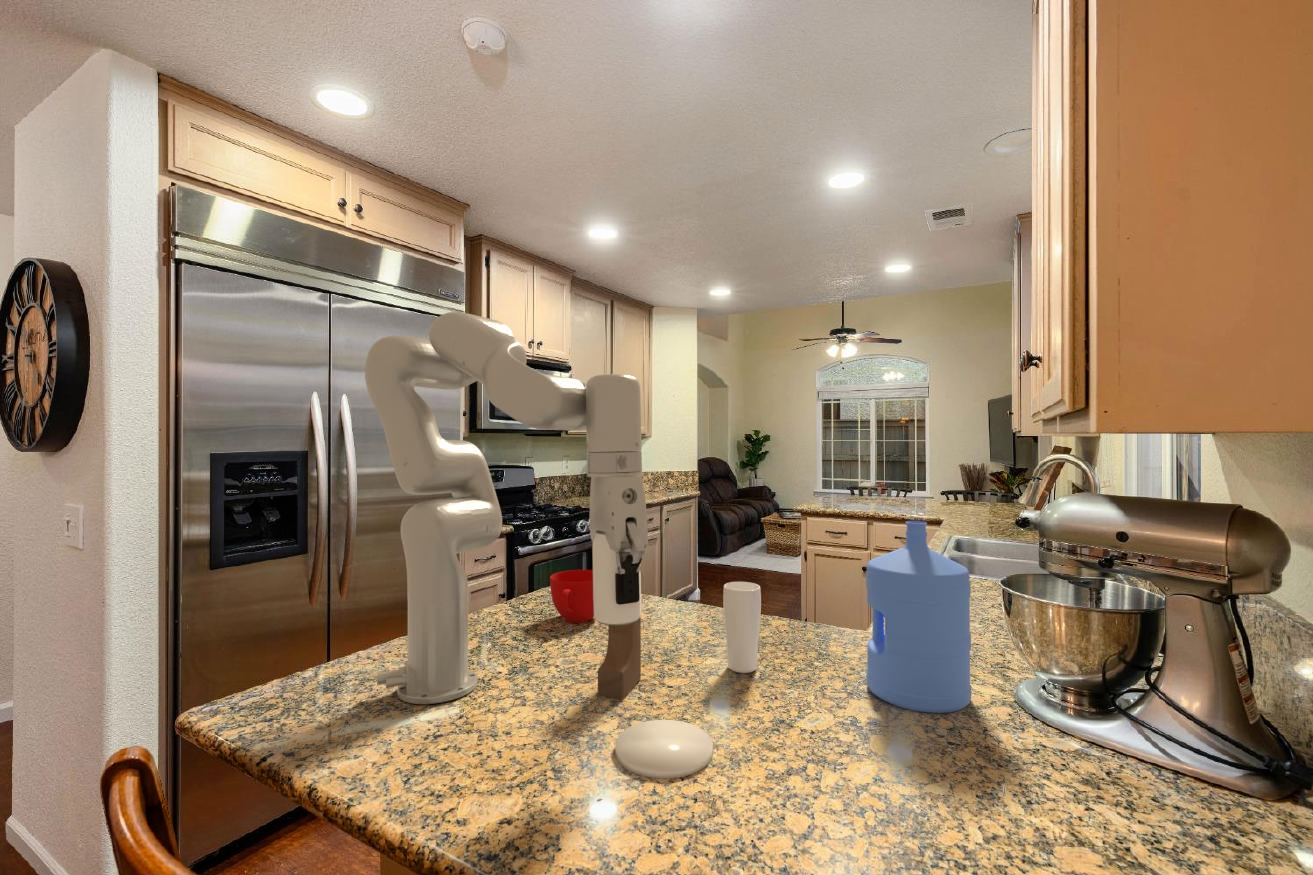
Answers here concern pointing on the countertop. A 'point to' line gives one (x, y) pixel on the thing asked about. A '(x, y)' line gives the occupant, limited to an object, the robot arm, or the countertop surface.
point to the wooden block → (621, 661)
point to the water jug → (919, 627)
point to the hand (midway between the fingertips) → (617, 595)
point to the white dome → (664, 749)
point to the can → (610, 586)
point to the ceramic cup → (573, 595)
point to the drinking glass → (742, 624)
